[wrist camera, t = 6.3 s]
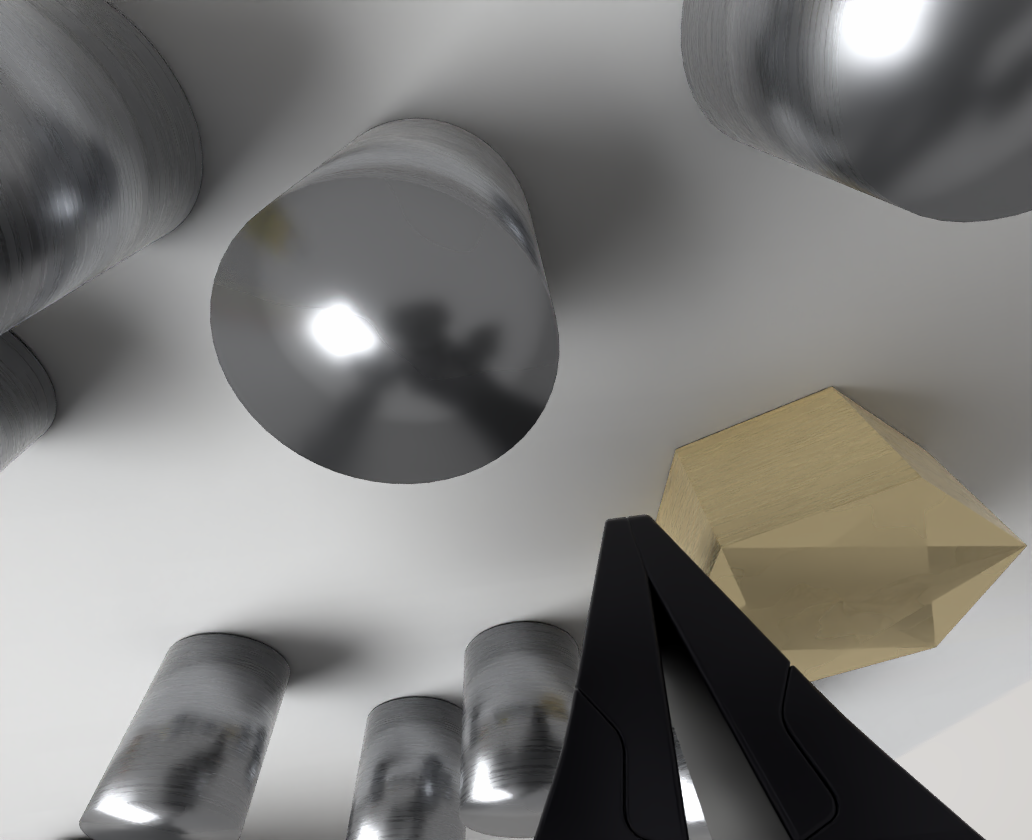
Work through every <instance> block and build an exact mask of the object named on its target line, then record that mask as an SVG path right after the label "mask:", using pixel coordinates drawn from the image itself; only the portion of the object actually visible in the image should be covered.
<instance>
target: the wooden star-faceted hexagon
mask: <svg viewBox="0 0 1032 840" xmlns="http://www.w3.org/2000/svg"><path fill="white" fill-rule="evenodd" d="M656 523H657V524H658V525H659V526H660V527H661V528H662V529H663V530H664V531H665V532H666V533H667V534H668V535H669V536H670V537H671V538H672V539H673V540H674V541H675V542H676V543H677V544H678V546H679V547H680V548H681V549H682V550H683V551H684V552H685V553H686V554H687V555H688V556H689V557H690V558H691V559H692V560H693V561H694V562H695V563H696V564H697V565H698V566H699V567H700V568H701V569H702V570H703V571H704V573H705V574H706V575H707V576H708V577H709V578H710V579H711V580H712V581H713V582H714V583H715V584H716V585H717V586H718V587H719V588H720V589H721V590H722V591H723V592H724V593H725V594H726V595H727V596H728V597H729V598H730V599H731V601H732V602H733V603H734V604H735V605H736V606H737V607H738V608H739V609H740V610H741V611H742V612H743V613H744V614H745V615H746V616H747V617H748V618H749V619H750V620H751V621H752V622H753V623H754V624H755V625H756V626H757V627H758V629H759V630H760V631H761V632H762V633H763V634H764V635H765V636H766V637H767V638H768V639H769V640H770V641H771V642H772V643H773V644H774V645H775V646H776V647H777V648H778V649H779V650H780V651H781V652H782V653H783V654H784V655H785V657H786V658H787V659H788V660H789V661H790V666H792V665H793V666H795V667H796V668H797V669H798V670H799V671H800V672H801V673H802V674H803V675H804V676H805V677H806V678H807V679H808V680H809V681H810V682H811V681H815V680H819V679H822V678H826V677H830V676H833V675H837V674H840V673H844V672H848V671H851V670H855V669H859V668H862V667H866V666H870V665H873V664H877V663H880V662H884V661H888V660H891V659H895V658H899V657H902V656H906V655H910V654H913V653H917V652H920V651H924V650H928V649H931V648H935V647H936V646H937V645H938V644H939V643H940V642H941V641H942V640H943V639H944V638H945V636H946V635H947V634H948V633H949V632H950V631H951V630H952V629H953V627H954V626H955V625H956V624H957V623H958V622H959V621H960V620H961V619H962V617H963V616H964V615H965V614H966V613H967V612H968V611H969V610H970V609H971V607H972V606H973V605H974V604H975V603H976V602H977V601H978V600H979V599H980V597H981V596H982V595H983V594H984V593H985V592H986V591H987V590H988V589H989V587H990V586H991V585H992V584H993V583H994V582H995V581H996V580H997V579H998V577H999V576H1000V575H1001V574H1002V573H1003V572H1004V571H1005V570H1006V569H1007V567H1008V566H1009V565H1010V564H1011V563H1012V562H1013V561H1014V560H1015V559H1016V557H1017V556H1018V555H1019V554H1020V553H1021V552H1022V551H1023V550H1024V549H1025V547H1026V546H1027V545H1026V544H1025V543H1024V542H1023V541H1022V540H1020V539H1019V538H1018V537H1017V536H1016V535H1015V534H1014V533H1013V532H1012V531H1011V530H1010V529H1009V528H1008V527H1007V526H1006V525H1005V524H1003V523H1002V522H1001V521H1000V520H999V519H998V518H997V517H996V516H995V515H994V514H993V513H992V512H991V511H990V510H989V509H987V508H986V507H985V506H984V505H983V504H982V503H981V502H980V501H979V500H978V499H977V498H976V497H975V496H974V495H973V494H972V493H970V492H969V491H968V490H967V489H966V488H965V487H964V486H963V485H962V484H961V483H960V482H959V481H958V480H957V479H956V478H954V477H953V476H952V475H951V474H950V473H949V472H948V471H947V470H946V469H945V468H944V467H943V466H942V465H941V464H940V463H939V462H937V461H936V460H935V459H934V458H933V457H932V456H931V455H930V454H929V453H928V452H927V451H926V450H924V449H923V448H921V447H920V446H918V445H917V444H915V443H914V442H913V441H911V440H910V439H908V438H907V437H905V436H904V435H902V434H901V433H899V432H898V431H896V430H895V429H893V428H892V427H890V426H889V425H887V424H886V423H885V422H883V421H882V420H880V419H879V418H877V417H876V416H874V415H873V414H871V413H870V412H868V411H867V410H865V409H864V408H862V407H861V406H860V405H858V404H857V403H855V402H854V401H852V400H851V399H849V398H848V397H846V396H845V395H843V394H842V393H840V392H839V391H837V390H836V389H835V388H833V387H829V388H827V389H825V390H822V391H820V392H817V393H815V394H812V395H810V396H807V397H805V398H802V399H800V400H797V401H795V402H792V403H790V404H787V405H785V406H782V407H780V408H777V409H775V410H772V411H770V412H767V413H765V414H762V415H760V416H757V417H755V418H753V419H750V420H748V421H745V422H743V423H740V424H738V425H735V426H733V427H730V428H728V429H725V430H723V431H720V432H718V433H715V434H713V435H710V436H708V437H705V438H703V439H700V440H698V441H695V442H693V443H690V444H688V445H685V446H683V447H680V448H678V449H676V451H675V454H674V458H673V461H672V465H671V468H670V472H669V476H668V479H667V483H666V486H665V490H664V493H663V497H662V501H661V504H660V508H659V511H658V515H657V519H656Z"/></svg>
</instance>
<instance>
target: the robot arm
mask: <svg viewBox="0 0 1032 840" xmlns="http://www.w3.org/2000/svg"><path fill="white" fill-rule="evenodd" d="M671 720H672V723H673V726H674V729H675V732H676V735H677V738H678V741H679V744H680V746H681V749H682V752H683V755H684V758H685V761H686V764H687V767H688V770H689V773H690V776H691V779H692V782H693V785H694V788H695V791H696V794H697V797H698V800H699V803H700V806H701V809H702V812H703V815H704V818H705V821H706V824H707V827H708V830H709V833H710V836H711V839H712V840H985V839H984V838H983V837H982V836H981V835H980V834H978V833H977V832H976V831H975V830H974V829H972V828H971V827H970V826H969V825H968V824H967V823H965V822H964V821H963V820H962V819H961V818H960V817H959V816H957V815H956V814H955V813H954V812H953V811H952V810H951V809H949V808H948V807H947V806H946V805H945V804H944V803H942V802H941V801H940V800H939V799H938V798H937V797H936V796H934V795H933V794H932V793H931V792H930V791H929V790H928V789H926V788H925V787H924V786H923V785H922V784H921V783H920V782H918V781H917V780H916V779H915V778H914V777H913V776H911V775H910V774H909V773H908V772H907V771H906V770H905V769H903V768H902V767H901V766H900V765H899V764H898V763H897V762H895V761H894V760H893V759H892V758H891V757H890V756H889V755H887V754H886V753H885V752H884V751H883V750H882V749H880V748H879V747H878V746H877V745H876V744H875V743H874V742H873V741H872V740H870V739H869V738H868V737H867V736H866V735H865V734H864V733H863V732H862V731H861V730H859V729H858V728H857V727H856V726H855V725H854V724H853V723H852V722H851V721H849V720H848V719H847V718H846V717H845V716H844V715H843V714H842V713H841V712H840V711H839V710H838V709H837V708H836V707H835V706H834V705H833V704H832V703H831V702H830V701H829V700H828V699H827V698H826V697H825V696H824V695H823V694H822V693H821V692H820V691H819V690H818V689H817V688H816V687H815V686H814V685H813V684H812V683H811V682H810V681H809V680H808V679H807V678H806V677H805V676H804V675H803V674H802V673H801V672H800V671H799V670H798V669H797V668H796V667H795V666H793V665H792V666H790V661H789V660H788V659H787V658H786V657H785V655H784V654H783V653H782V652H781V651H780V650H779V649H778V648H777V647H776V646H775V645H774V644H773V643H772V642H771V641H770V640H769V639H768V638H767V637H766V636H765V635H764V634H763V633H762V632H761V631H760V630H759V629H758V627H757V626H756V625H755V624H754V623H753V622H752V621H751V620H750V619H749V618H748V617H747V616H746V615H745V614H744V613H743V612H742V611H741V610H740V609H739V608H738V607H737V606H736V605H735V604H734V603H733V602H732V601H731V599H730V598H729V597H728V596H727V595H726V594H725V593H724V592H723V591H722V590H721V589H720V588H719V587H718V586H717V585H716V584H715V583H714V582H713V581H712V580H711V579H710V578H709V577H708V576H707V575H706V574H705V573H704V571H703V570H702V569H701V568H700V567H699V566H698V565H697V564H696V563H695V562H694V561H693V560H692V559H691V558H690V557H689V556H688V555H687V554H686V553H685V552H684V551H683V550H682V549H681V548H680V547H679V546H678V544H677V543H676V542H675V541H674V540H673V539H672V538H671V537H670V536H669V535H668V534H667V533H666V532H665V531H664V530H663V529H662V528H661V527H660V526H659V525H658V524H657V523H656V522H655V521H654V520H653V519H652V518H651V517H650V516H649V515H637V516H629V517H627V518H626V517H621V518H613V519H608V520H607V521H606V522H605V527H604V532H603V538H602V543H601V548H600V554H599V559H598V564H597V570H596V575H595V581H594V586H593V591H592V597H591V602H590V607H589V613H588V618H587V624H586V629H585V634H584V640H583V645H582V651H581V656H580V661H579V667H578V672H577V677H576V683H575V690H574V692H573V697H572V703H571V708H570V714H569V718H568V723H567V727H566V732H565V736H564V741H563V745H562V749H561V752H560V756H559V759H558V763H557V766H556V770H555V773H554V777H553V780H552V784H551V787H550V790H549V793H548V796H547V799H546V802H545V805H544V808H543V811H542V814H541V818H540V821H539V824H538V827H537V830H536V833H535V836H534V839H533V840H689V834H688V827H687V821H686V814H685V808H684V801H683V795H682V788H681V782H680V775H679V769H678V763H677V756H676V750H675V743H674V737H673V730H672V724H671Z"/></svg>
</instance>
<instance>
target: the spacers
mask: <svg viewBox="0 0 1032 840" xmlns="http://www.w3.org/2000/svg"><path fill="white" fill-rule="evenodd" d="M681 48H682V56H683V64H684V69H685V73H686V77H687V81H688V84H689V86H690V89H691V91H692V94H693V96H694V98H695V100H696V102H697V104H698V105H699V107H700V109H701V111H702V112H703V113H704V114H705V116H706V117H707V118H708V119H709V121H710V122H711V123H712V124H713V125H714V126H716V127H717V128H718V129H719V130H720V131H721V132H723V133H724V134H726V135H727V136H729V137H730V138H732V139H734V140H736V141H739V142H741V143H744V144H746V145H748V146H751V147H753V148H756V149H758V150H761V151H763V152H766V153H768V154H770V155H773V156H775V157H778V158H780V159H783V160H785V161H788V162H790V163H792V164H795V165H797V166H800V167H802V168H805V169H807V170H810V171H812V172H815V173H817V174H819V175H822V176H824V177H827V178H829V179H832V180H834V181H837V182H839V183H841V184H844V185H846V186H849V187H851V188H854V189H856V190H859V191H861V192H864V193H866V194H868V195H871V196H873V197H876V198H878V199H881V200H883V201H886V202H888V203H890V204H893V205H895V206H898V207H900V208H903V209H905V210H908V211H910V212H912V213H915V214H917V215H920V216H923V217H928V218H932V219H937V220H941V221H954V222H975V221H988V220H994V219H999V218H1004V217H1009V216H1014V215H1018V214H1021V213H1024V212H1028V211H1031V210H1032V0H684V3H683V11H682V22H681ZM202 173H203V156H202V149H201V141H200V136H199V132H198V128H197V124H196V121H195V118H194V116H193V113H192V110H191V107H190V105H189V103H188V101H187V98H186V96H185V94H184V92H183V90H182V88H181V86H180V84H179V83H178V81H177V79H176V78H175V76H174V74H173V73H172V71H171V70H170V68H169V66H168V65H167V64H166V62H165V61H164V60H163V58H162V57H161V56H160V54H159V53H158V51H157V50H156V49H155V48H154V47H153V45H152V44H151V43H150V42H149V41H148V40H147V39H146V37H145V36H144V35H143V34H142V33H141V32H140V31H139V30H138V29H137V28H136V27H135V26H134V25H133V24H132V23H131V22H130V21H129V20H128V19H127V18H125V17H124V16H123V15H122V14H121V13H120V12H118V11H117V10H116V9H115V8H113V7H112V6H111V5H109V4H108V3H107V2H106V1H104V0H0V472H1V471H2V470H3V469H4V468H5V467H6V466H8V465H9V464H10V463H11V462H12V461H13V460H14V459H15V458H17V457H18V456H19V455H20V454H21V453H22V452H23V451H24V450H26V449H27V448H28V447H29V446H30V445H31V444H32V443H33V442H35V441H36V440H37V439H38V438H39V437H40V436H41V435H42V434H44V433H45V432H46V431H47V429H48V428H49V427H50V426H51V424H52V422H53V420H54V417H55V413H56V398H55V392H54V389H53V386H52V384H51V381H50V379H49V377H48V375H47V373H46V371H45V370H44V368H43V367H42V366H41V364H40V363H39V361H38V360H37V359H36V357H35V356H34V355H33V354H32V353H31V351H30V350H29V349H28V348H27V347H26V346H25V345H24V344H23V343H22V342H21V341H20V340H19V339H18V338H16V337H15V336H14V335H13V334H12V333H10V332H9V331H8V330H10V329H11V328H13V327H15V326H16V325H18V324H20V323H21V322H23V321H25V320H26V319H28V318H30V317H31V316H33V315H34V314H36V313H38V312H39V311H41V310H43V309H44V308H46V307H48V306H49V305H51V304H53V303H54V302H56V301H57V300H59V299H61V298H62V297H64V296H66V295H67V294H69V293H71V292H72V291H74V290H76V289H77V288H79V287H80V286H82V285H84V284H85V283H87V282H89V281H90V280H92V279H94V278H95V277H97V276H99V275H100V274H102V273H103V272H105V271H107V270H108V269H110V268H112V267H113V266H115V265H117V264H118V263H120V262H122V261H123V260H125V259H126V258H128V257H130V256H131V255H133V254H135V253H136V252H138V251H140V250H141V249H143V248H145V247H146V246H148V245H149V244H151V243H153V242H154V241H156V240H158V239H159V238H161V237H163V236H164V235H166V234H167V233H169V232H171V231H172V230H174V229H175V228H176V227H177V226H178V225H179V224H181V223H182V222H183V221H184V219H185V218H186V217H187V215H188V214H189V213H190V211H191V209H192V208H193V206H194V204H195V202H196V200H197V196H198V193H199V190H200V186H201V180H202ZM210 323H211V329H212V336H213V343H214V346H215V350H216V353H217V356H218V360H219V363H220V365H221V367H222V370H223V372H224V374H225V376H226V379H227V381H228V383H229V384H230V386H231V387H232V389H233V391H234V392H235V394H236V396H237V397H238V399H239V400H240V402H241V403H242V404H243V405H244V407H245V408H246V409H247V410H248V412H249V413H250V414H251V415H252V417H253V418H254V419H255V420H256V421H257V422H258V423H259V424H260V425H261V426H262V427H263V428H264V429H265V430H266V431H268V432H269V433H270V434H271V435H272V436H274V437H275V438H276V439H277V440H279V441H280V442H281V443H282V444H284V445H285V446H287V447H288V448H290V449H291V450H293V451H294V452H296V453H297V454H299V455H301V456H303V457H304V458H306V459H308V460H310V461H312V462H314V463H316V464H318V465H320V466H323V467H325V468H328V469H330V470H332V471H335V472H338V473H341V474H344V475H348V476H351V477H354V478H359V479H364V480H369V481H374V482H382V483H391V484H416V483H429V482H435V481H440V480H446V479H450V478H453V477H457V476H460V475H464V474H466V473H469V472H471V471H474V470H476V469H479V468H481V467H483V466H485V465H487V464H488V463H490V462H492V461H494V460H496V459H497V458H499V457H500V456H501V455H503V454H504V453H506V452H507V451H508V450H510V449H511V448H512V447H513V446H514V445H516V444H517V443H518V442H519V441H520V440H521V439H522V438H523V437H524V436H525V435H526V434H527V432H528V431H529V430H530V429H531V428H532V426H533V425H534V424H535V423H536V421H537V419H538V418H539V416H540V415H541V413H542V412H543V410H544V408H545V406H546V404H547V402H548V399H549V397H550V395H551V393H552V389H553V386H554V382H555V379H556V375H557V368H558V361H559V334H558V328H557V322H556V316H555V312H554V308H553V304H552V300H551V296H550V292H549V288H548V284H547V280H546V276H545V272H544V267H543V263H542V259H541V255H540V251H539V247H538V243H537V239H536V235H535V231H534V227H533V223H532V219H531V215H530V211H529V207H528V204H527V201H526V197H525V194H524V192H523V190H522V188H521V186H520V184H519V181H518V180H517V178H516V176H515V175H514V173H513V172H512V170H511V168H510V167H509V166H508V165H507V163H506V162H505V161H504V160H503V159H502V157H501V156H500V155H499V154H498V153H497V152H496V151H495V150H494V149H492V148H491V147H490V146H489V145H488V144H487V143H485V142H484V141H482V140H481V139H480V138H478V137H477V136H475V135H474V134H472V133H470V132H468V131H466V130H464V129H462V128H460V127H457V126H455V125H452V124H449V123H446V122H441V121H437V120H432V119H420V118H412V119H400V120H396V121H392V122H387V123H384V124H382V125H379V126H377V127H374V128H372V129H370V130H368V131H367V132H365V133H363V134H362V135H360V136H358V137H357V138H356V139H354V140H353V141H352V142H351V143H349V144H348V145H347V146H345V147H344V148H343V149H341V150H340V151H339V152H337V153H336V154H335V155H333V156H332V157H331V158H329V159H328V160H327V161H325V162H324V163H323V164H321V165H320V166H319V167H318V168H316V169H315V170H314V171H312V172H311V173H310V174H308V175H307V176H306V177H304V178H303V179H302V180H300V181H299V182H298V183H296V184H295V185H294V186H292V187H291V188H290V189H288V190H287V191H286V192H285V193H283V194H282V195H281V196H279V197H278V198H277V199H275V200H274V201H273V202H271V203H270V204H269V205H267V206H266V207H265V208H264V209H262V210H261V211H260V212H259V213H258V214H257V215H255V216H254V217H253V218H252V219H251V220H250V221H248V222H247V223H246V225H245V226H244V227H243V228H242V229H241V231H240V232H239V233H238V234H237V235H236V237H235V238H234V239H233V240H232V242H231V244H230V246H229V247H228V249H227V251H226V253H225V254H224V256H223V258H222V260H221V263H220V265H219V268H218V271H217V274H216V276H215V279H214V284H213V290H212V296H211V312H210ZM579 661H580V659H579V652H578V647H577V644H576V642H575V640H574V639H573V638H572V637H571V636H570V635H569V634H568V633H566V632H565V631H563V630H561V629H559V628H557V627H554V626H551V625H547V624H542V623H533V622H519V623H510V624H505V625H500V626H497V627H494V628H491V629H489V630H487V631H485V632H483V633H481V634H479V635H478V636H477V637H475V638H474V639H473V640H472V641H471V642H470V643H469V645H468V646H467V648H466V651H465V660H464V687H463V711H462V710H461V709H460V708H458V707H457V706H455V705H453V704H451V703H448V702H445V701H442V700H437V699H432V698H420V697H416V698H403V699H397V700H392V701H389V702H386V703H384V704H381V705H380V706H378V707H376V708H375V709H373V710H372V711H371V712H370V714H369V715H368V718H367V723H366V729H365V735H364V740H363V746H362V752H361V757H360V763H359V769H358V774H357V780H356V786H355V791H354V797H353V803H352V808H351V814H350V820H349V825H348V831H347V837H346V840H465V826H467V827H468V828H470V829H472V830H474V831H477V832H480V833H483V834H487V835H492V836H498V837H509V838H530V837H534V836H535V833H536V830H537V827H538V824H539V821H540V818H541V814H542V811H543V808H544V805H545V802H546V799H547V796H548V793H549V790H550V787H551V784H552V780H553V777H554V773H555V770H556V766H557V763H558V759H559V756H560V752H561V749H562V745H563V741H564V736H565V732H566V727H567V723H568V718H569V714H570V708H571V703H572V697H573V692H574V690H575V683H576V677H577V672H578V667H579ZM289 676H290V668H289V665H288V663H287V662H286V660H285V659H284V658H283V657H282V656H281V655H280V654H279V653H278V652H276V651H275V650H274V649H272V648H270V647H268V646H267V645H264V644H262V643H260V642H257V641H254V640H252V639H248V638H244V637H240V636H234V635H227V634H202V635H196V636H192V637H188V638H185V639H182V640H180V641H178V642H177V643H175V644H174V645H173V646H172V647H171V648H170V649H169V651H168V652H167V654H166V656H165V658H164V660H163V662H162V664H161V666H160V668H159V670H158V672H157V674H156V675H155V677H154V679H153V681H152V683H151V685H150V687H149V689H148V691H147V693H146V695H145V697H144V699H143V700H142V702H141V704H140V706H139V708H138V710H137V712H136V714H135V716H134V718H133V720H132V722H131V723H130V725H129V727H128V729H127V731H126V733H125V735H124V737H123V739H122V741H121V743H120V745H119V746H118V748H117V750H116V752H115V754H114V756H113V758H112V760H111V762H110V764H109V766H108V768H107V770H106V771H105V773H104V775H103V777H102V779H101V781H100V783H99V785H98V787H97V789H96V791H95V793H94V794H93V796H92V798H91V800H90V802H89V804H88V806H87V808H86V810H85V812H84V814H83V816H82V818H81V819H80V821H79V826H80V828H81V830H82V831H83V832H84V833H85V834H86V835H87V836H89V837H90V838H92V839H94V840H239V838H240V835H241V831H242V828H243V825H244V822H245V818H246V815H247V812H248V809H249V806H250V802H251V799H252V796H253V793H254V789H255V786H256V783H257V780H258V777H259V773H260V770H261V767H262V764H263V760H264V757H265V754H266V751H267V747H268V744H269V741H270V738H271V735H272V731H273V728H274V725H275V722H276V718H277V715H278V712H279V709H280V706H281V702H282V699H283V696H284V693H285V689H286V686H287V683H288V680H289ZM671 724H672V730H673V737H674V743H675V750H676V756H677V763H678V769H679V775H680V782H681V788H682V795H683V801H684V808H685V814H686V821H687V827H688V834H689V840H712V839H711V836H710V833H709V830H708V827H707V824H706V821H705V818H704V815H703V812H702V809H701V806H700V803H699V800H698V797H697V794H696V791H695V788H694V785H693V782H692V779H691V776H690V773H689V770H688V767H687V764H686V761H685V758H684V755H683V752H682V749H681V746H680V744H679V741H678V738H677V735H676V732H675V729H674V726H673V723H672V720H671Z"/></svg>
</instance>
